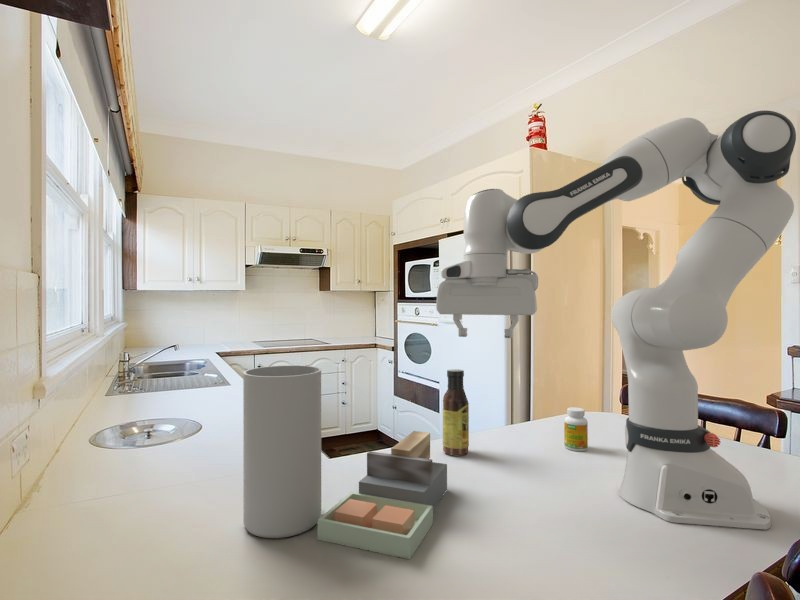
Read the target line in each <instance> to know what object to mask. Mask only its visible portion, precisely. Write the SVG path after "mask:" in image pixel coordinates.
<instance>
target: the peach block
mask: <svg viewBox="0 0 800 600" xmlns="http://www.w3.org/2000/svg"><path fill="white" fill-rule="evenodd" d="M413 527H414V510H410V509H404V508H399V507H393V506H387V505H385V506H384V507H383V508H382V509H381V510H380V511H379V512H378V513H377V514H376V515H375V516H374V517H373V518H372V529H377V530H382V531H387V532H392V533H397V534H402V535H408V533H409V532H410V531H411V529H412V528H413Z"/></svg>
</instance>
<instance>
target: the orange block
mask: <svg viewBox="0 0 800 600" xmlns="http://www.w3.org/2000/svg"><path fill="white" fill-rule="evenodd" d="M376 514H377V504H375V503H369V502H364V501H359V500H353V499H349V500H348V501H347V502H346V503H344V504H343V505H342V506H341V507H340V508H338V509H337V510H336V511H335V521H337V522H342V523H347V524H352V525H357V526H362V527H367V528H372V518H373V517H374V516H375V515H376Z"/></svg>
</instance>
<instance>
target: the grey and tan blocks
mask: <svg viewBox="0 0 800 600" xmlns="http://www.w3.org/2000/svg"><path fill="white" fill-rule="evenodd" d="M430 458H431V432H426V431H416V430H413V431H411V432H410V433H409V434H408V435H407V436H405V437H404V438H403V439H402V440H400V441H399V442H398V443H396V444H395V445H394V446H392V447H391V449H390V453H386V452H377V451H372V450H371V451H368V452H367V453H366V476H374V477H380V478H387V479H393V480H400V481H407V482H413V483H420V484H426V485H431V484H432V462H433V459H430Z"/></svg>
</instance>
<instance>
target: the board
mask: <svg viewBox="0 0 800 600" xmlns="http://www.w3.org/2000/svg"><path fill="white" fill-rule="evenodd" d="M446 490H447V491H448V464H447V463H441V462H433V461H432V484H431V485H426V484H420V483H413V482H407V481H400V480H393V479H387V478H380V477H374V476H367V475H365V476H364V477H363V478H362V479H360V480H359V481H358V493H360V494H366V495H372V496H378V497H384V498H390V499H396V500H401V501H407V502H413V503H419V504H425V505H431V506H433V510H434V509H435V508H436V506H437V505H438V504H437V503H439V502H440V501H441V499H442V498H443V497H442V496H444V495H445V494H446V492H447V491H446ZM445 491H446V492H445ZM444 493H445V494H444ZM443 494H444V495H443ZM441 497H442V498H441ZM439 500H440V501H439ZM436 504H437V505H436ZM434 507H435V508H434Z"/></svg>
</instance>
